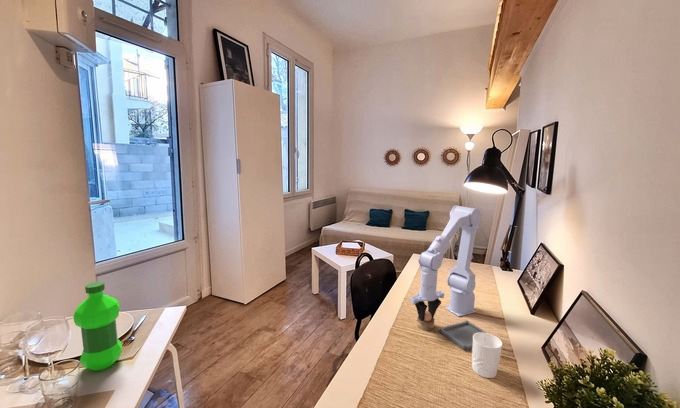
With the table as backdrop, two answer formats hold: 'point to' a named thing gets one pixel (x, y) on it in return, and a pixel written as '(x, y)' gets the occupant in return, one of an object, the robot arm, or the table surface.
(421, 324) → the egg cup
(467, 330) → the tray
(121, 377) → the table surface
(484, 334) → the white cup
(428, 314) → the ball
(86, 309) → the plastic bottle
